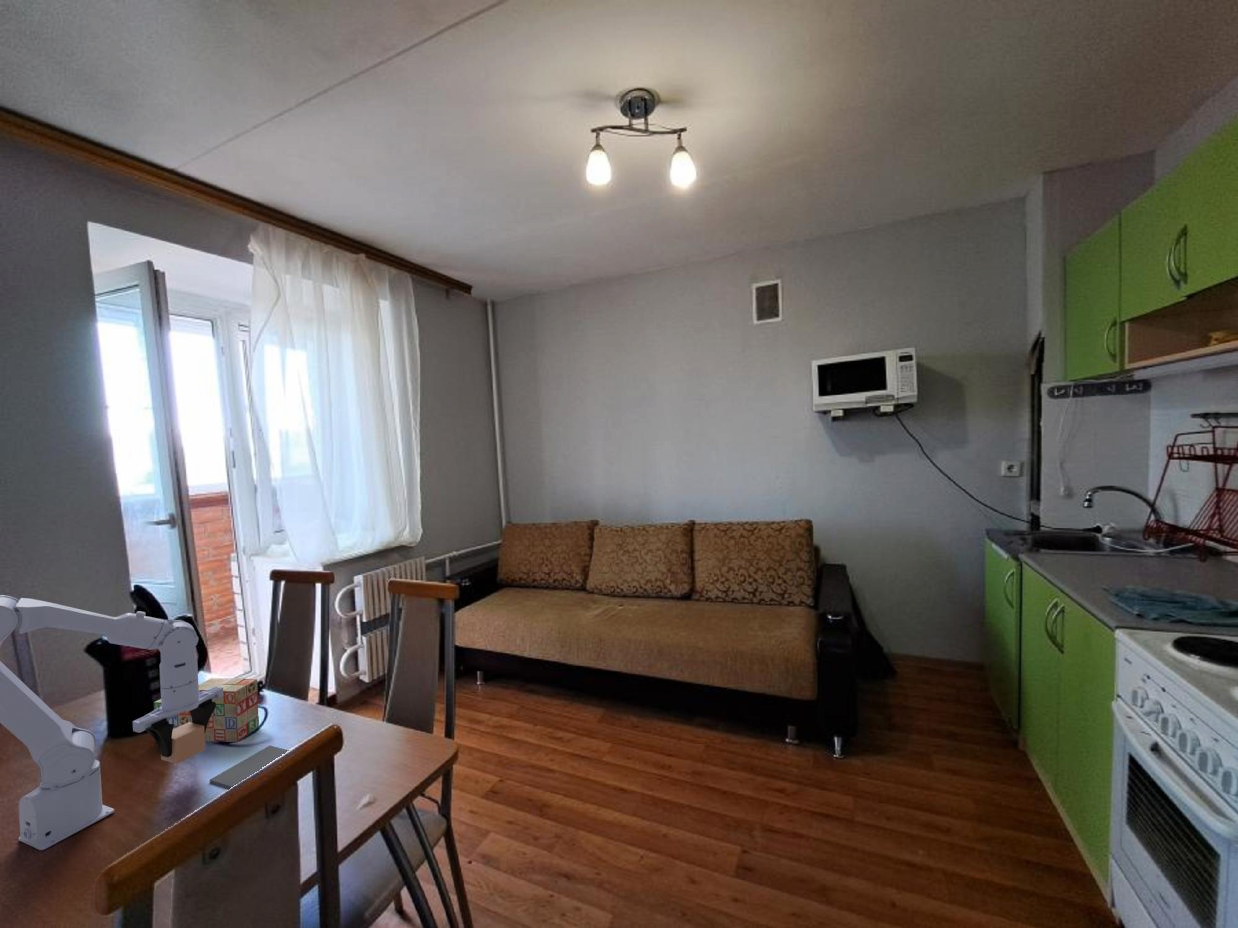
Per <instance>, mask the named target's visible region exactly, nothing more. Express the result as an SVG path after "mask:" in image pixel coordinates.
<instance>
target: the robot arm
mask: <svg viewBox="0 0 1238 928" xmlns="http://www.w3.org/2000/svg"><path fill="white" fill-rule="evenodd" d="M17 628H19V632H18V634H20V635H21V634H25V633H29V632H32V631H35V630H40V629H42V628H54V629H63V630H69V631H74V632H75V631H77V632H83V633H88V634H89V633H90V634H97V635H98V634H99V635H103V636H105V637H106V640H107V641H108V643H109V644H113V645H119V646H124V647H132V648H138V649H143V650H144V649H145V650H149V651H151V650H158V651H159V652H160V663H159V683H160V699H161V704H162V706H161V707H160V708H158V709H156V710H154V709H153V710H152V711H151V712H149V713H147V714H145V715H144V716H142V717H139V718H137V719H135V720H132V731H133V732H135V733H142V732H144V731H146V732H147V733H148V734H149V735H150V736H151V738H152V739H153V740H154V741H155V743H156V745H157V747H158V750H159V751H160V756H161V755H162V756H164V757H170V756H171V755H172V731H173V727H174V725H173V724H169V721H167V719H169V718H171V717H173V716H176V715H178V714H180V713H183V712H185V711H186V712H187V711H190V714H191V718H192V723H195V724H199V725H203V726H204V733H205V731H206V728H207V725H208V722H209V719H210V717H211V715H212V713H213V712H214V710H215V708H216V703H215V702H212V700H213V699H215V698H220V697H223V687H218V686H217V687H214V688H212V689H209V690H206V691H202V692H199V686H198V685H199V670H198V669H199V668H198V656H197V655H196V653H197V647H196V646H197V645H198V642H199V636H198V635H197V631H196V630H195V628H194V627H193V625H192V624H190V623H189V622H186V621H185V620H182V619H177V620H176V619H174V618H170V617H169V618H168V619H163V618H158V617H157V618H156V617H152V616H146V612H145V611H140V610H139V611H136V613H132V612H126V613H123V614H120V615H118V616H110V615H106V614H102V613H98V612H93V611H90V610H89V611H88V610H85V609H79V608H76V607H71V606H67V605H63V604H59V603H54V602H49V601H45V600H40V599H35V598H29V597H28V598H27V597H25V598H24V597H21V598H20V599H18V598H16V597H13V596H11V595H3V594H2V595H1V594H0V647H1V646H2V644H3V642H4V641H5V639H7V638H8V636H9V635H11V634H12V632H14V630H16V629H17ZM0 724H1V725H2V726H3V727H4V728H6V729H7V730H8V731H9V732H10V733H11V734H12V735H13V736H14V737H16V738H17V739H18V740H19V741H20V742H22V743H23V745H25V746H26V747H27V749H28V751H29V754H30V755H31V758H32V760H33V761H34V763H36V764H37V765H38V766H39V768H40V776H41V780H40V784H39V786H38V787H36V788H35V789H33V790H32V791H31V792H28V793H27V794H25V795H24V796H22V797H20V799H19V801H18V818H19V819H18V821H19V835H20V836H19V837H18V841H20V842H22V843H24V844H26V845H29V846H30V847H33V848H35V849H37V850H39V851H44V850H47V849H48V848H50V847H52V846H53V845H56V844H57V843H59V842H61V841H63V840H65V839H67V838H68V837H70V836H72V835H74V834H76V833H78V832H79V831H82V830H84V829H86V828H87V827H90V826H91V825H93V824H94V823H96V822H98V821H100V820H102V819H104V818H106V817H108V816H109V815H111V814H113V813H114V812H115V808H112V807H110V806H107V805H106V804H103V792H102V778H101V774H102V773H101V763H100V761H99V760H98V759H96V755H95V745H96V741H97V739H96V735H95V733H94V732H92V731H91V730H89V729H86V728H80V727H77V726H75V725H74V723H72V722H71V721H68V720H65V719H62V718H61V717H60V716H59V715H58V714H57V713H56V712H55V711H54V710H53V709H51V708H50V706H49V705H48V704H46V703H45V702H44V701H43V700H42V698H40V697H39V696H38V695H37V694H36V693H34V692H33V691H32V690H31V689H30V688H29V687H28V686H27V684H25V683H24V682H23V681H22V680H21V678H19V677H18V676H16V675H15V673H14V672H13V671H11V669H9V668H8V666H6V665H5V664H4V663H3V662H2V661H1V660H0Z"/></svg>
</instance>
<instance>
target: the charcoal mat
mask: <svg viewBox="0 0 1238 928" xmlns="http://www.w3.org/2000/svg"><path fill="white" fill-rule="evenodd" d="M287 751H289V749H285V748H282V747H277V746H274V745H268V746H266V747H264V748H263V749H261V750H259V751H258V752H256V753H254V754H252V755H250V756H248V757H247V758H245V759H244V760H242V761H240V762H238V763H236V764H235V765H233V766H231V767H229V768H228V769H226V770H224V771H222V772H221V773H219V774H217V775H215V776H213V777H211V778H210V779H209V783H210V784H213V785H217V786H219V787H221V788H222V787H223V788H226V789H229V790H231V789H230V788H231V787H233V786H234V785H236V784H238V783H239V782H241V781H242V780H244V779H246V778H247V777H249V776H250V775H252V774H254V773H255V772H257V771H259V770H260V769H262V767H264V766H266V765H267V764H269V763H270V762H272V761H273V760H275V759H276V758H278V757H280V756H282V754H285V753H286V752H287Z"/></svg>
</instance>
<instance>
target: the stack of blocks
mask: <svg viewBox="0 0 1238 928" xmlns="http://www.w3.org/2000/svg"><path fill="white" fill-rule="evenodd" d="M198 686H199V692H202V691H206V690H209V689H212V688H214V687H217V686H218V687H223V697H220V698H215V699H213V700H212V702H215V703H216V708H215V710H214V712H213V713H212V715H211V717H210V719H209V722H208V725H207V728H206V731H205V742H229V743H238V742H240V741H241V740H242V739H244V738H245V737H247V736H249V734H251V733H253V732H254V731H256V730H257V729H259V728H260V716H259V691H258V678H245V677H234V678H232V677H228V678H225V677H224V678H221V677H214V678H213V677H210V678H208V679H207V680H206V681H203V682H201V683H200V684H199V683H198ZM161 706H162V704H161V698H160V699H158V700H156V701H154V702H153V711H154V710H156V709H158V708H160V707H161ZM167 721H169V724H173V725H174V727H173V729H175V728H177V727H179V726H181V725H184V724H186V723H188V722H191V723H192V718H191V714H190V711H187V712H186V711H185V712H183V713H180V714H178V715H176V716H173V717H171V718H169V719H167Z"/></svg>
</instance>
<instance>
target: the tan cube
mask: <svg viewBox="0 0 1238 928" xmlns="http://www.w3.org/2000/svg"><path fill="white" fill-rule="evenodd" d="M205 750H206V741H205V733H204V726H203V725H199V724H195V723H191V722H188V723H186V724H184V725H181V726H179V727H177V728H175V729H173V731H172V755H171V756H170V757H164V756H162V755H161V754H160V759H161V760H162V761H166V762H168V763H171V764H173V765H174V764H175V765H178V764H180V763H182V762H184V761H186V760H188V759H190V758H192V757H194V756H195V755H197V754H199V753H201V752H203V751H205Z"/></svg>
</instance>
